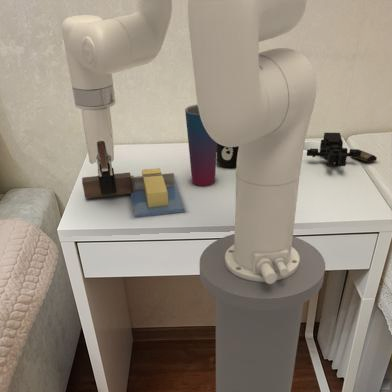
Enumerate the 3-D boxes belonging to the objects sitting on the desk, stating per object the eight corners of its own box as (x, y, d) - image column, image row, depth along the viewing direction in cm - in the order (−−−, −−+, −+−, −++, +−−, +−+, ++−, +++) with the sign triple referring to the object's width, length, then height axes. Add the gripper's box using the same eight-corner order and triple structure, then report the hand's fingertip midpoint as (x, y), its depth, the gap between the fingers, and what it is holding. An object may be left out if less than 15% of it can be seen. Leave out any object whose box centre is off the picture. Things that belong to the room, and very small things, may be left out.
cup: (223, 177, 111) (224, 105, 101) (211, 189, 106) (210, 115, 96) (196, 173, 113) (193, 102, 103) (182, 185, 109) (179, 112, 99)
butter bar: (168, 205, 100) (167, 191, 98) (148, 207, 99) (147, 193, 97) (163, 189, 106) (162, 175, 104) (144, 190, 105) (143, 177, 103)
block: (366, 165, 114) (367, 157, 113) (348, 157, 118) (349, 149, 117) (377, 161, 115) (379, 153, 114) (359, 153, 119) (360, 146, 118)
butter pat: (162, 186, 107) (161, 172, 105) (144, 188, 106) (142, 174, 104) (161, 181, 109) (160, 167, 107) (143, 183, 108) (141, 169, 106)
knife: (85, 193, 105) (82, 177, 103) (173, 183, 107) (172, 167, 105) (85, 198, 104) (82, 182, 101) (175, 188, 106) (174, 172, 103)
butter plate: (184, 212, 99) (184, 208, 99) (134, 217, 98) (134, 213, 98) (172, 176, 112) (172, 172, 112) (128, 180, 111) (127, 177, 111)
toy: (310, 154, 108) (306, 128, 118) (307, 175, 111) (304, 148, 122) (367, 155, 106) (358, 129, 117) (362, 177, 110) (354, 149, 120)
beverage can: (213, 167, 116) (212, 112, 108) (221, 157, 120) (221, 103, 112) (240, 170, 114) (242, 114, 106) (247, 159, 119) (249, 105, 111)
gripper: (74, 85, 98) (90, 177, 110) (73, 110, 86) (91, 209, 98) (112, 82, 99) (124, 173, 111) (116, 106, 87) (129, 205, 99)
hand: (108, 189), depth 104 cm, fingers closed on knife, 2 cm apart
